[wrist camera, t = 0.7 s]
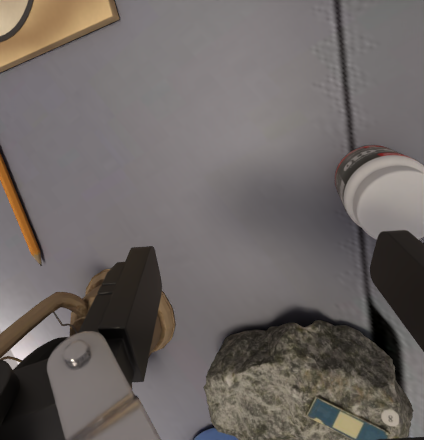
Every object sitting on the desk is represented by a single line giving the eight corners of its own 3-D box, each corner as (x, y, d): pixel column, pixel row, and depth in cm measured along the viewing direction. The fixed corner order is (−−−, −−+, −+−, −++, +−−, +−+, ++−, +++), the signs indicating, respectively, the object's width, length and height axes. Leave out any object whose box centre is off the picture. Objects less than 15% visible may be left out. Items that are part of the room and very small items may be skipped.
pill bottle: (396, 135, 21) (451, 148, 13) (406, 196, 22) (462, 240, 14) (327, 155, 22) (341, 177, 15) (340, 211, 24) (359, 257, 16)
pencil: (-29, 104, 30) (38, 265, 35) (-34, 103, 29) (35, 268, 34) (-19, 102, 30) (46, 263, 36) (-24, 101, 29) (44, 266, 35)
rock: (235, 426, 34) (208, 511, 24) (214, 308, 34) (180, 346, 25) (406, 435, 28) (458, 549, 19) (379, 294, 29) (417, 336, 19)
